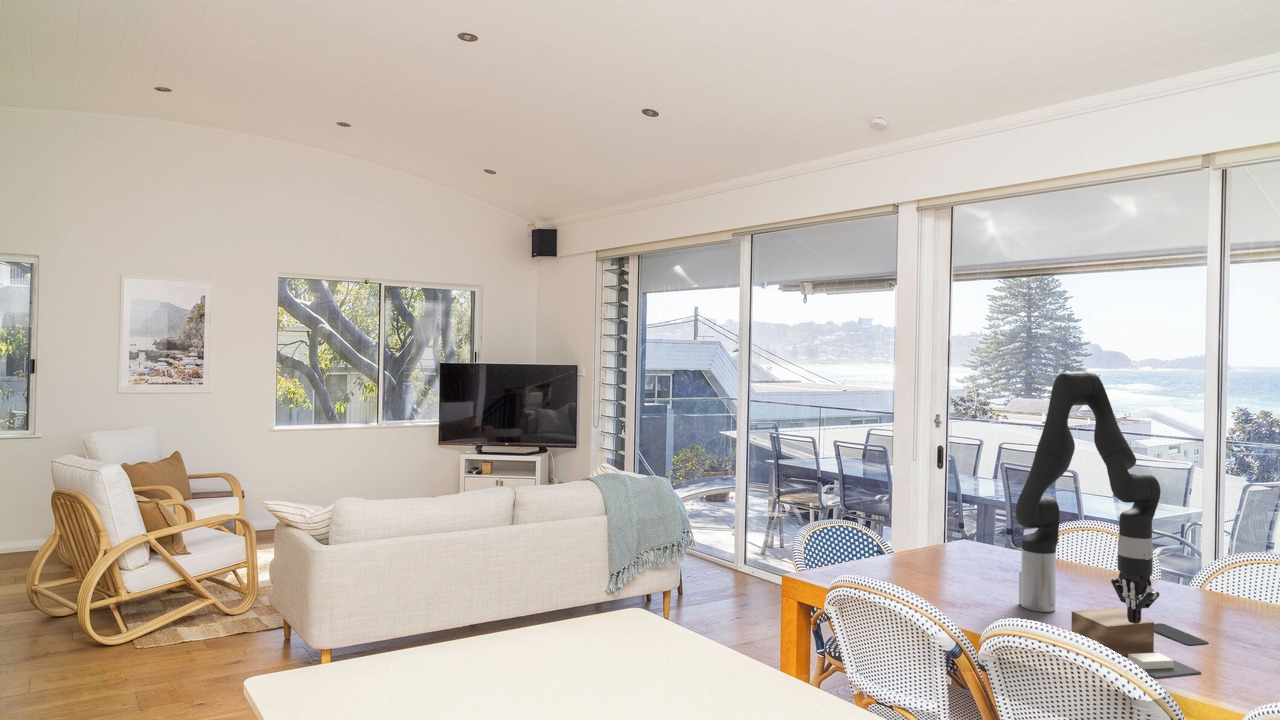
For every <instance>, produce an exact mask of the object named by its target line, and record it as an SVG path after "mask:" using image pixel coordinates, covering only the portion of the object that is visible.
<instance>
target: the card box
mask: <svg viewBox="0 0 1280 720" xmlns="http://www.w3.org/2000/svg"><path fill="white" fill-rule="evenodd" d="M1128 659H1129V660H1131V661H1132V662H1134V663H1135V664H1137V665H1138V666H1139V667H1140V668H1142V669H1143V670H1147V669H1169V668H1174V659H1172V658H1170V657H1168V656H1165V655H1164V654H1162V653H1159V652H1156V653H1138V654H1128Z"/></svg>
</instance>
